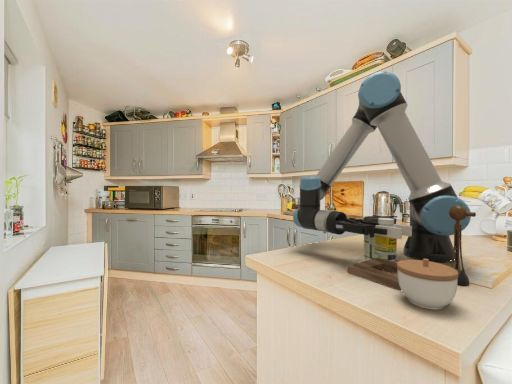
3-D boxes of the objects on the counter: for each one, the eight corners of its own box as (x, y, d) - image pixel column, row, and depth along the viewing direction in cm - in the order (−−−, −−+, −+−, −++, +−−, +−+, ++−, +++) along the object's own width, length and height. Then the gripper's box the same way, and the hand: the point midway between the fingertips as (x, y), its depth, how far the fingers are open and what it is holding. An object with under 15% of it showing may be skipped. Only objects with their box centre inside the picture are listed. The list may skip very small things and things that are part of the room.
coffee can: (386, 254, 90) (386, 216, 90) (402, 262, 80) (403, 219, 80) (358, 254, 90) (358, 216, 90) (371, 262, 80) (371, 219, 80)
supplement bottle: (381, 249, 72) (382, 217, 72) (400, 253, 68) (401, 219, 67) (370, 251, 69) (371, 218, 69) (390, 256, 65) (390, 220, 65)
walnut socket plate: (377, 263, 79) (377, 257, 79) (430, 278, 66) (430, 271, 66) (347, 272, 71) (347, 265, 71) (400, 290, 58) (400, 282, 58)
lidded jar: (387, 300, 53) (387, 257, 53) (409, 288, 60) (409, 250, 59) (446, 322, 45) (447, 271, 44) (465, 305, 51) (466, 260, 51)
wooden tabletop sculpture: (478, 285, 61) (479, 206, 60) (468, 289, 59) (469, 206, 58) (451, 278, 66) (452, 204, 66) (441, 280, 64) (442, 205, 64)
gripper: (347, 230, 88) (420, 242, 70) (313, 236, 77) (389, 252, 59) (347, 209, 88) (420, 216, 69) (314, 212, 77) (390, 221, 58)
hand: (406, 232), depth 64 cm, fingers closed on supplement bottle, 5 cm apart
